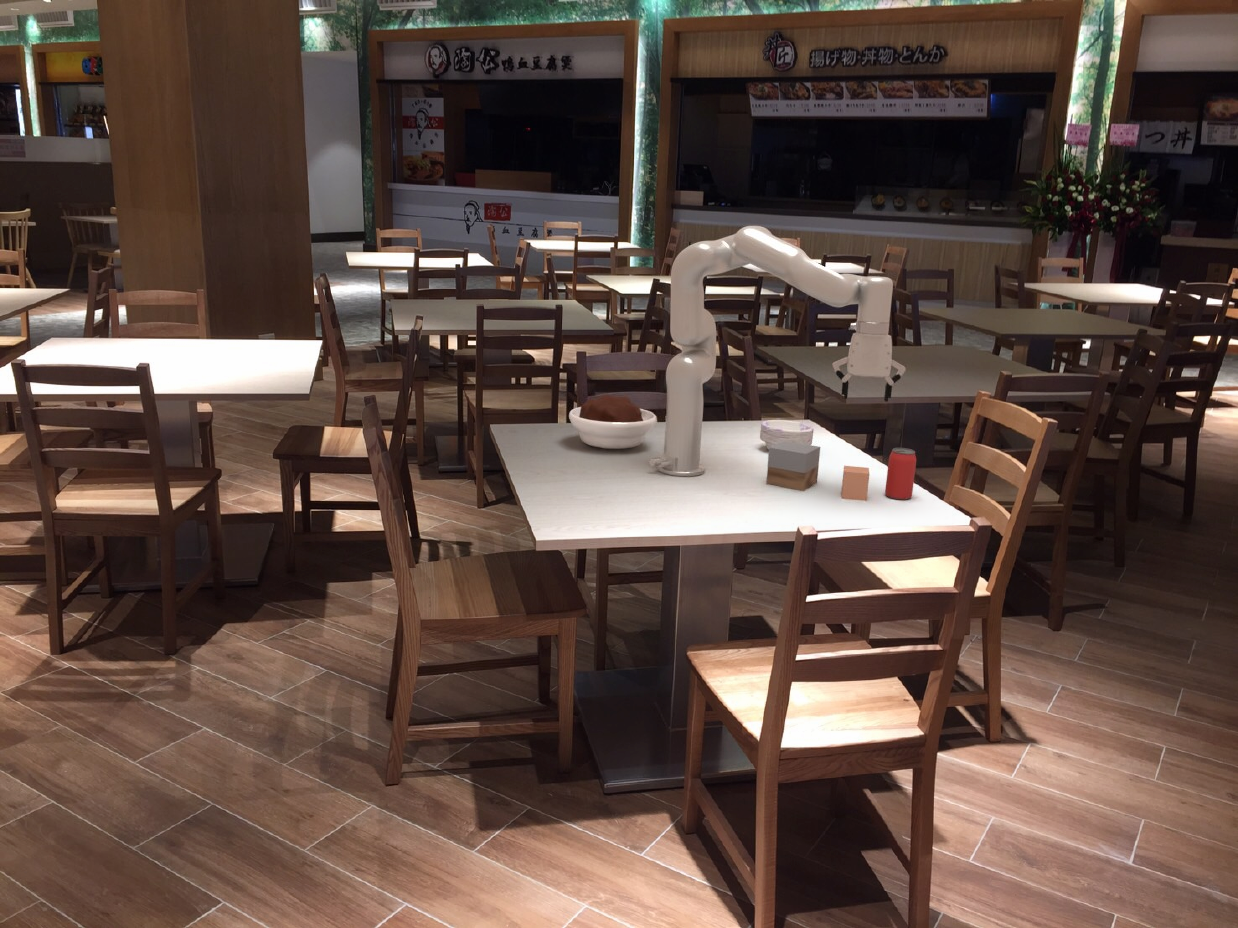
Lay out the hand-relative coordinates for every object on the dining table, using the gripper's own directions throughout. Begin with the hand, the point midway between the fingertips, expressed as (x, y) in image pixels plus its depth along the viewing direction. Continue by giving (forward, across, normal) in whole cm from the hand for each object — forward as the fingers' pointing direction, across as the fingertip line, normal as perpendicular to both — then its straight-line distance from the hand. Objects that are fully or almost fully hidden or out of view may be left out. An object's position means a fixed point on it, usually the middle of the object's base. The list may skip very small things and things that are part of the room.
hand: (865, 399), depth 250 cm
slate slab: (+20, -16, +7) cm, 26 cm away
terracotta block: (+25, -1, 0) cm, 25 cm away
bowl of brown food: (+24, -68, +30) cm, 78 cm away
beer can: (+25, +10, +4) cm, 27 cm away
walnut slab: (+25, -16, +7) cm, 30 cm away
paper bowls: (+25, -19, +43) cm, 53 cm away
